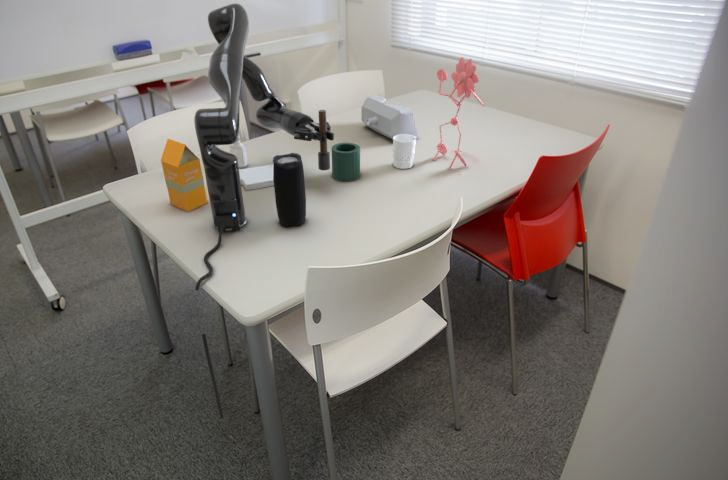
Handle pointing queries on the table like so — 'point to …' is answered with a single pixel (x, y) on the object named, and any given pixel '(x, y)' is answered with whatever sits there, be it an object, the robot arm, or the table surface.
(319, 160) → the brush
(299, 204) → the portable speaker
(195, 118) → the robot arm
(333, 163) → the green plastic pot
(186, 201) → the orange juice
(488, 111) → the table surface
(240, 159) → the eye dropper bottle
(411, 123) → the tank
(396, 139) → the white cup
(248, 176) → the mounting plate
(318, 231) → the table surface
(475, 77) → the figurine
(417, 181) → the table surface
